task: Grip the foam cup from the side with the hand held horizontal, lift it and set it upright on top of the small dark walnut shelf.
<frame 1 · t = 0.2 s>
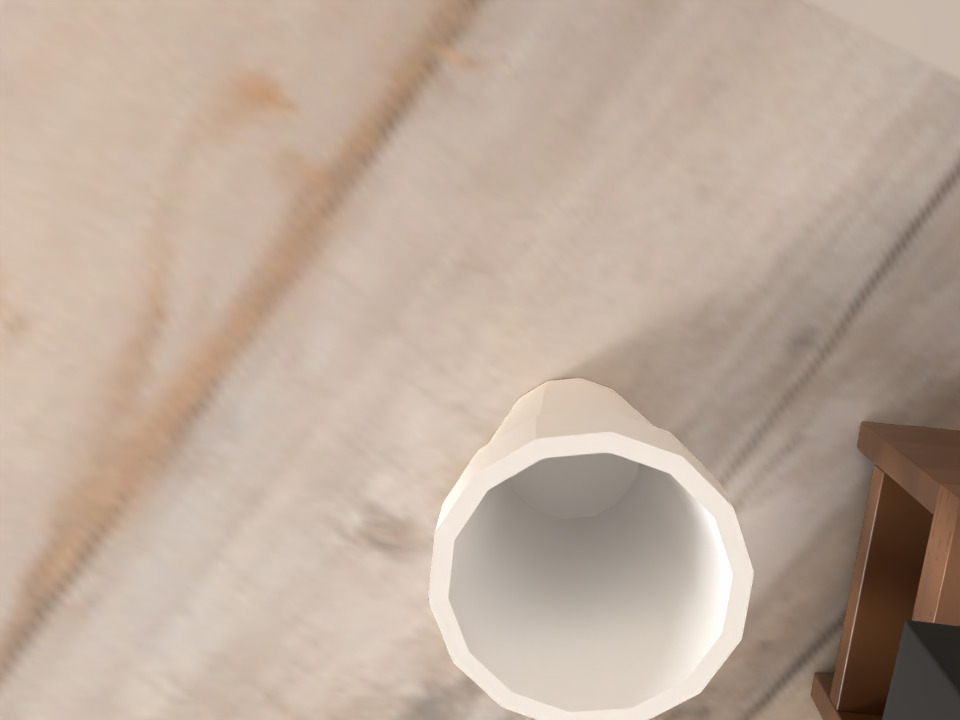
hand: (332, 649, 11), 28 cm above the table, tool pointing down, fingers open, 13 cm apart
foam cup: (570, 447, 39), on the table
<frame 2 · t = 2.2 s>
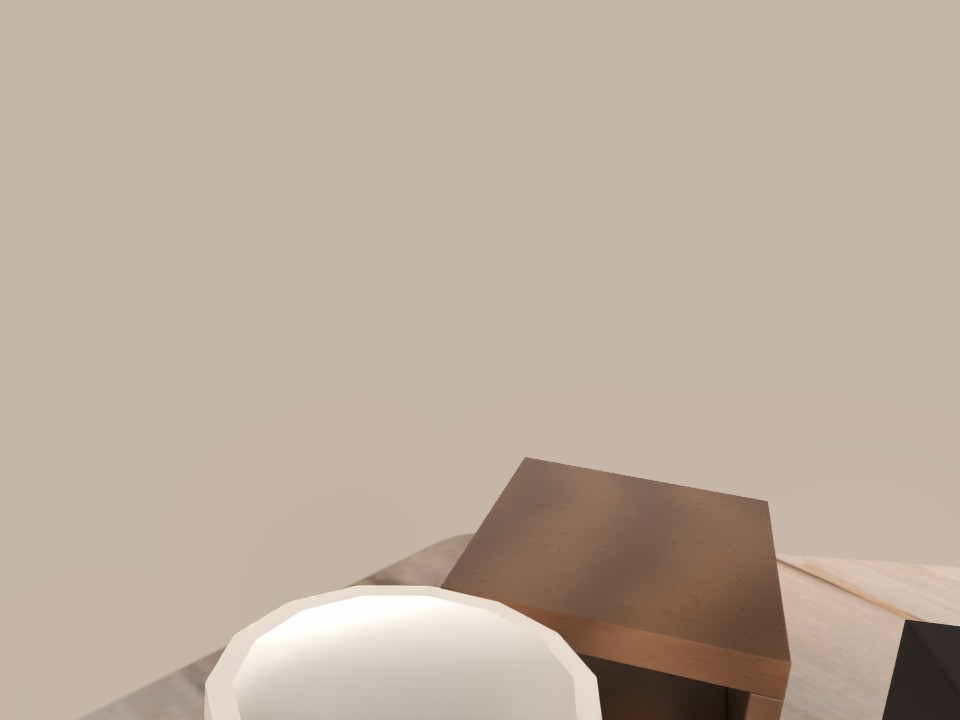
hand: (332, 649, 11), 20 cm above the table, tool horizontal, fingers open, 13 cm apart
shelf: (602, 710, 43), on the table
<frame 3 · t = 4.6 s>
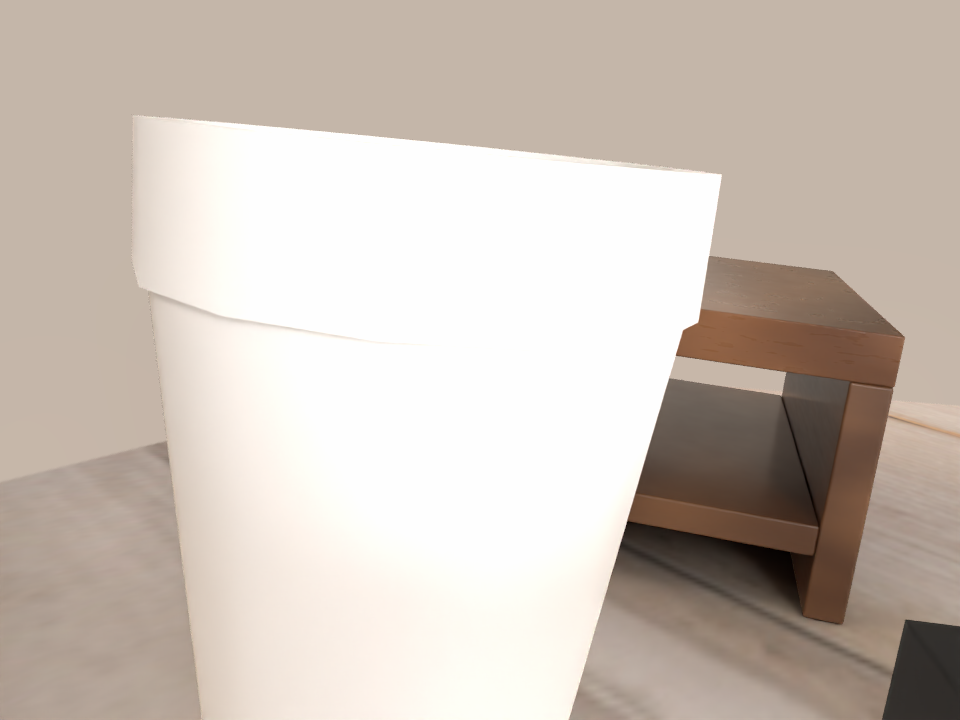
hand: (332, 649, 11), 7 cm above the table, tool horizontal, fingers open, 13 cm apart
shelf: (646, 494, 36), on the table
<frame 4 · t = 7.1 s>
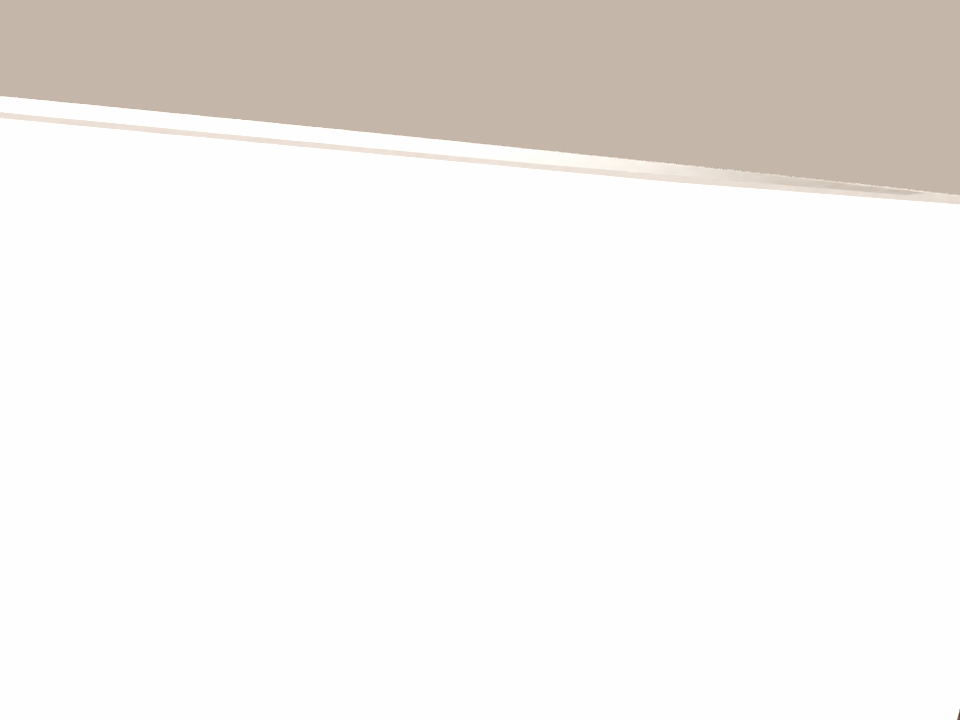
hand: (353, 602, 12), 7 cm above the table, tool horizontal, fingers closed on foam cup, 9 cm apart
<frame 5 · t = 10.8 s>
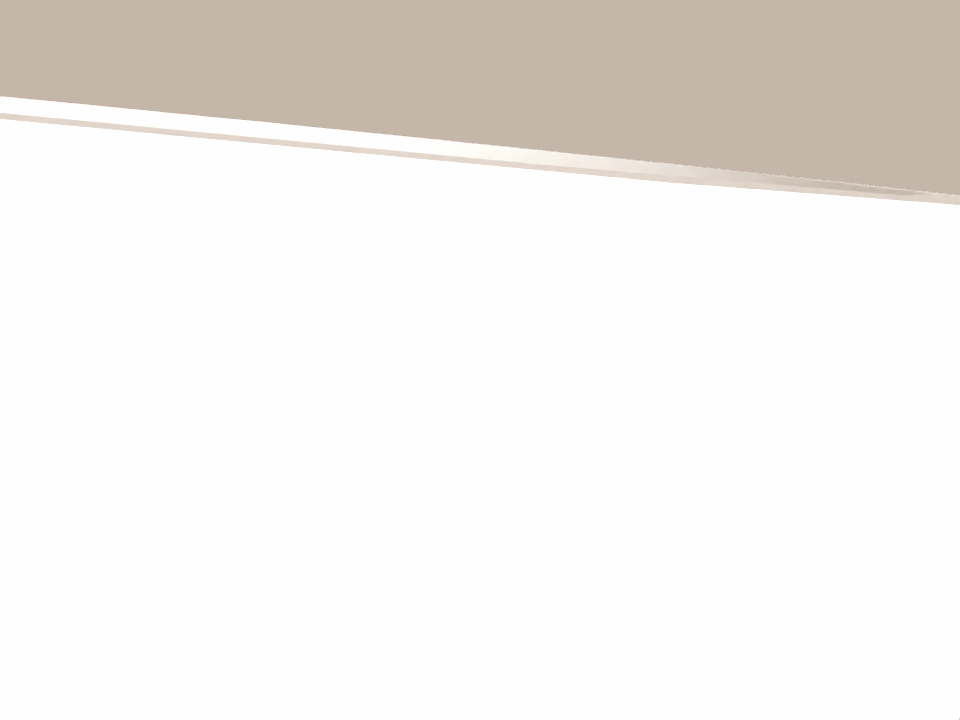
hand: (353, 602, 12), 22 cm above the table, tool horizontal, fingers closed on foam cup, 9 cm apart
when the fingers open (16 cm above the table, at t = 14.9 s): foam cup stays where it is, resting on shelf.
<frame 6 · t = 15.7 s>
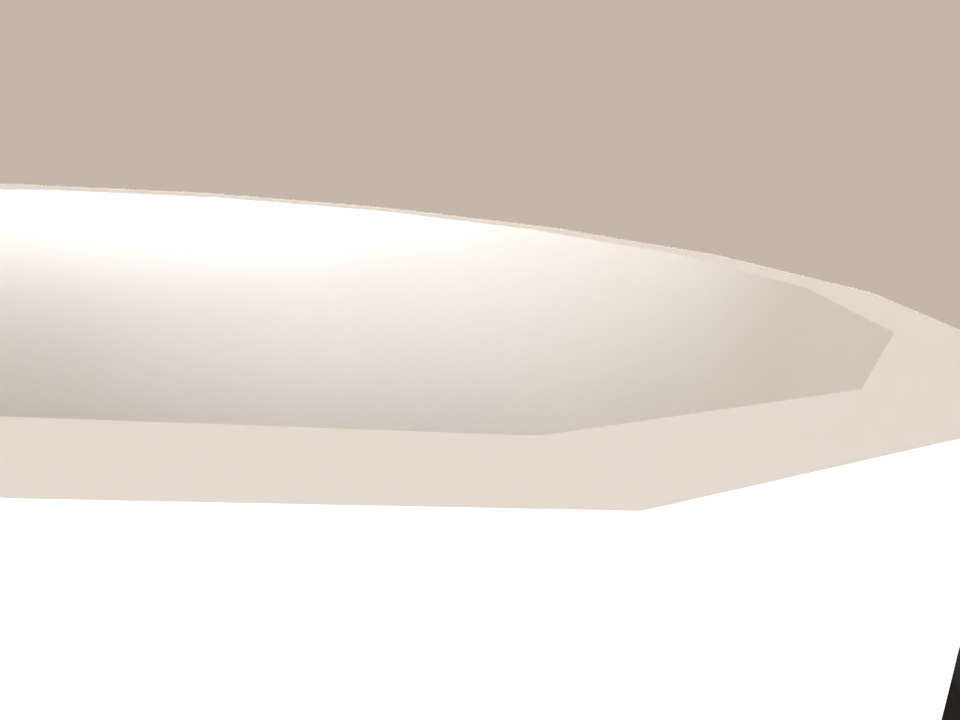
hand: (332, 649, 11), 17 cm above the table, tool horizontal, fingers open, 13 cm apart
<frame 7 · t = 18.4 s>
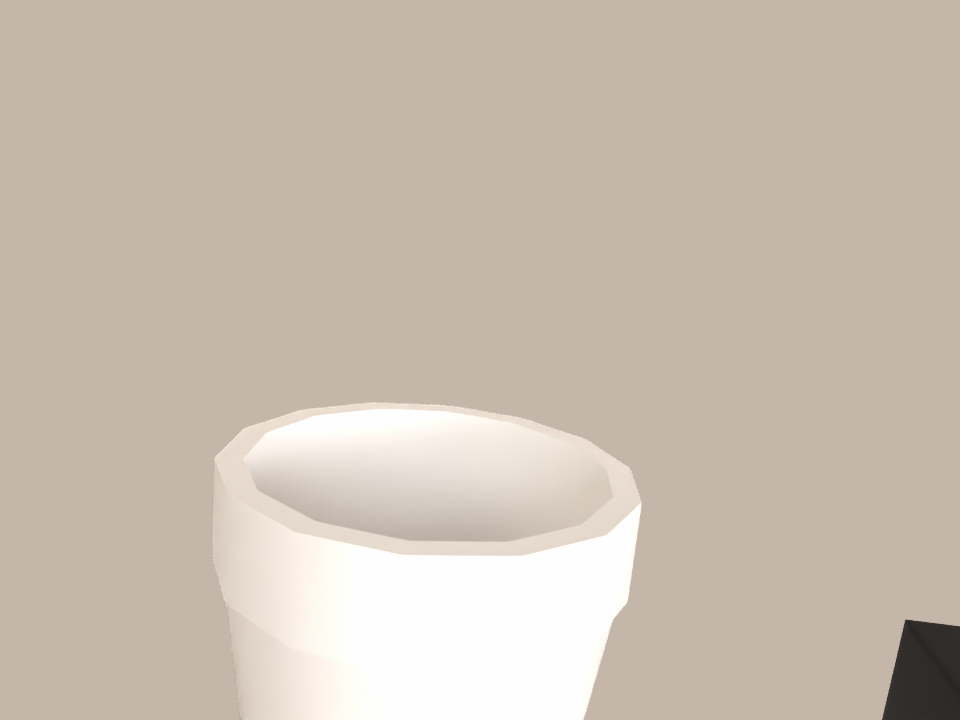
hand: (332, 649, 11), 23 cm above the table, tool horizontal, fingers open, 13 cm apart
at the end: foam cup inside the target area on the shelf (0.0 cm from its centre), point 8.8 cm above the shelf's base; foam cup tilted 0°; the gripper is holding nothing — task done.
